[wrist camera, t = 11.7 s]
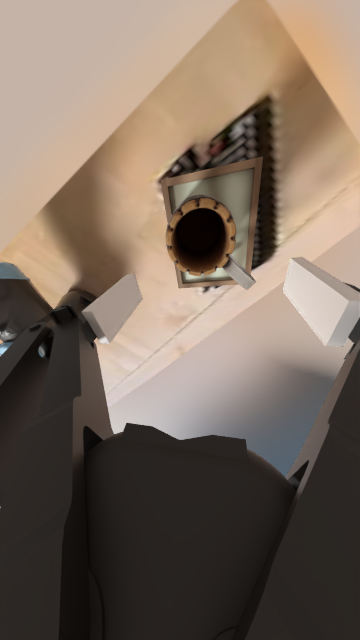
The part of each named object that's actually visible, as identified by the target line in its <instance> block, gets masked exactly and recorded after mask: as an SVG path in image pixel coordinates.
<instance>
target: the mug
mask: <svg viewBox="0 0 360 640" xmlns="http://www.w3.org/2000/svg"><path fill="white" fill-rule="evenodd" d="M235 238H236V225H235V222H234V219H233V216H232V214H231V212H230V211H229V209H228V208H227V207H226V205H224V204H223V203H222V202H220V201H219V200H218V199H215V198H213V197H210V196H207V195H194V196H191V197H188V198H187V199H185V200H184V201H183V202H181V203H180V205H179V206H178V207H177V208H176V210H175V211H174V213H173V214H172V216H171V218H170V220H169V222H168V225H167V231H166V245H167V249H168V253H169V256H170V258H171V260H172V261H174V262H175V263H176V266H177V267H178V268H179V269H180V270H181V271H183V272H189V274H190V275H193V276H201V274H204V275H209V274H212V273H214V272H216V269H217V268H221V267H222V268H223V269H224V270H225V272H226V273H227V274H228V275H229V276H230V277H231V278H232V279H234V280H235V281H236V282H237V283H238V284H239V285H240V286H242V287H243V288H245V289H247V290H248V289H249V288H250V287H251V286H252V285H253V284H254V283H255V282H256V281H255V280H254V279H253V277H252V276H251V275H250V274H249V273H248V272H247V271H246V270H245V269H244V268H243V267H242V266H241V265H240V264H239V263H238V262H237V261H236V260H235V259H234V258H233V257H232V255H231V254H232V253H233V250H234V248H235V244H236V240H235Z"/></svg>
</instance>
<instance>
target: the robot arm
mask: <svg viewBox="0 0 360 640" xmlns="http://www.w3.org/2000/svg"><path fill="white" fill-rule="evenodd" d="M283 292H284V293H285V295H286V296H287V297H288V298H289V300H290V301H291V303H292V304H293V305H294V306H295V308H296V309H297V310H298V312H299V313H300V314H301V315H302V317H303V318H304V319H305V321H306V322H307V323H308V324H309V326H310V327H311V328H312V330H313V331H314V332H315V334H316V335H317V336H318V337H319V338H320V340H321V341H322V343H323V344H324V345H325V346H326V347H343V346H344V344H345V343H346V341H347V339H348V338H349V339H350V340H351V341H352V342H354V344H353V346H352V347H351V349H350V350H349V352H348V354H347V355H346V356H345V358H344V359H345V361H344V363H343V365H342V367H341V369H340V371H339V373H338V375H337V377H336V380H335V382H334V384H333V386H332V388H331V390H330V392H329V394H328V396H327V398H326V400H325V402H324V404H323V406H322V408H321V410H320V412H319V414H318V417H317V418H316V421H315V422H314V424H313V427H312V429H311V431H310V433H309V435H308V437H307V439H306V441H305V443H304V445H303V447H302V449H301V451H300V453H299V455H298V457H297V459H296V461H295V462H294V464H293V465H292V467H291V469H290V470H289V472H288V474H287V476H286V478H285V477H284V476H283V475H282V474H281V473H280V472H279V471H278V470H277V469H276V468H275V467H274V466H272V464H270V463H269V462H268V461H266V460H265V459H264V458H262V457H261V456H259V455H257V454H256V453H254V452H252V451H250V450H248V449H247V446H246V440H245V439H238V438H230V437H224V436H217V435H209V436H203V437H197V438H191V439H185V440H178V439H176V438H174V437H172V436H170V435H168V434H166V433H164V432H162V431H160V430H158V429H156V428H154V427H152V426H145V425H138V424H131V423H126V426H125V429H124V431H123V432H120V433H117V434H114V433H113V431H112V428H111V424H110V419H109V413H108V407H107V402H106V397H105V391H104V386H103V380H102V375H101V369H100V364H99V358H98V353H97V347H96V344H95V342H94V340H95V339H96V337H97V338H98V340H99V342H100V343H105V344H110V342H111V341H112V340H113V338H114V337H115V336H116V334H117V333H118V332H119V330H120V329H121V328H122V326H123V325H124V323H125V322H126V321H127V319H128V318H129V317H130V315H131V314H132V313H133V311H134V310H135V309H136V307H137V306H138V305H139V303H140V302H141V301H142V295H141V292H140V289H139V286H138V283H137V280H136V277H135V274H134V273H133V274H127V275H125V276H124V277H123V278H122V279H121V280H119V281H118V282H117V283H116V284H114V285H113V286H112V287H111V288H110V289H108V290H107V291H106V292H105V293H104V294H102V295H101V296H100V297H99V298H96V297H95V296H93V295H91V294H90V293H88V292H85V291H81V290H73V291H70V292H69V293H67V294H65V295H64V296H63V297H62V299H61V300H60V302H59V303H58V305H57V306H56V308H55V309H52V307H51V306H50V305H49V304H48V302H47V301H46V300H45V299H44V297H43V296H42V295H41V294H40V292H39V291H38V290H37V289H36V287H35V286H34V285H33V284H32V283H31V280H30V279H29V278H27V277H26V276H25V275H24V274H23V272H22V271H21V270H20V269H19V268H18V267H17V266H15V265H14V264H11V263H6V262H0V339H1V340H2V341H3V343H1V344H0V355H1V356H0V506H1V508H0V640H360V289H358V288H357V287H355V286H352V285H350V284H347V283H344V282H341V281H339V280H338V279H337V278H335V277H333V276H332V275H330V274H329V273H327V272H325V271H324V270H322V269H320V268H319V267H317V266H316V265H314V264H312V263H311V262H309V261H308V260H306V259H304V258H303V257H298V258H291V259H290V263H289V267H288V271H287V275H286V279H285V284H284V288H283Z"/></svg>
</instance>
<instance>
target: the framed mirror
mask: <svg viewBox="0 0 360 640" xmlns="http://www.w3.org/2000/svg"><path fill="white" fill-rule="evenodd" d="M262 162H263V156H262V157H258V158H253V159H249V160H245V161H241V162H236V163H232V164H228V165H223V166H219V167H215V168H211V169H206V170H202V171H198V172H194V173H189V174H185V175H181V176H177V177H172V178H168V179H164V180H161V185H162V191H163V197H164V203H165V209H166V215H167V221H168V222H169V220H170V218H171V216H172V214H173V213H174V211H175V210H176V208H177V207H178V206H179V205H180V203H181V202H183V201H184V200H185V199H187V198H188V197H191V196H194V195H207V196H210V197H213V198H215V199H218V200H219V201H220V202H222V203H223V204H224V205H226V207H227V208H228V209H229V211H230V212H231V214H232V216H233V219H234V222H235V225H236V238H235V240H236V244H235V248H234V250H233V253H232V254H231V255H232V257H233V258H234V259H235V260H236V261H237V262H238V263H239V264H240V265H241V266H242V267H243V268H244V269H245V270H246V271H247V272H248V273H249V274H251V265H252V256H253V246H254V237H255V228H256V218H257V209H258V199H259V190H260V181H261V171H262ZM174 263H175V262H174ZM175 269H176V275H177V281H178V287H179V288H190V287H205V286H220V285H235V284H238V283H237V282H236V281H235V280H234V279H232V278H231V277H230V276H229V275H228V274H227V273H226V272H225V270H224V269H223V268H222V267H221V268H217V269H216V272H214V273H212V274H209V275H204V274H201V276H193V275H190V274H189V272H183V271H181V270H180V269H179V268H178V267H177V266H176V263H175Z"/></svg>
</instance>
